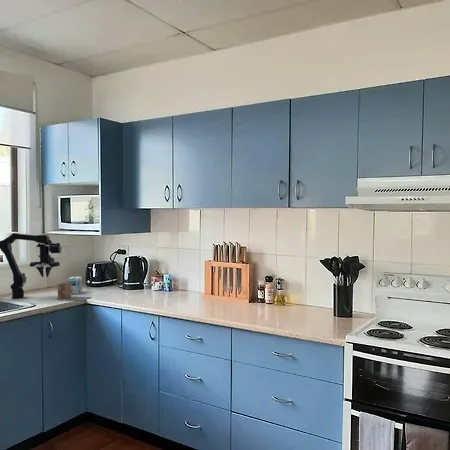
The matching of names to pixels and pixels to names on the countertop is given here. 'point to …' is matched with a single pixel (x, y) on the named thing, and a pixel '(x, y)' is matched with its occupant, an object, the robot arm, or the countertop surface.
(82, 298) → the rubber mat
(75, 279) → the light bulb box
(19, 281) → the robot arm
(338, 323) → the countertop surface
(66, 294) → the walnut block
